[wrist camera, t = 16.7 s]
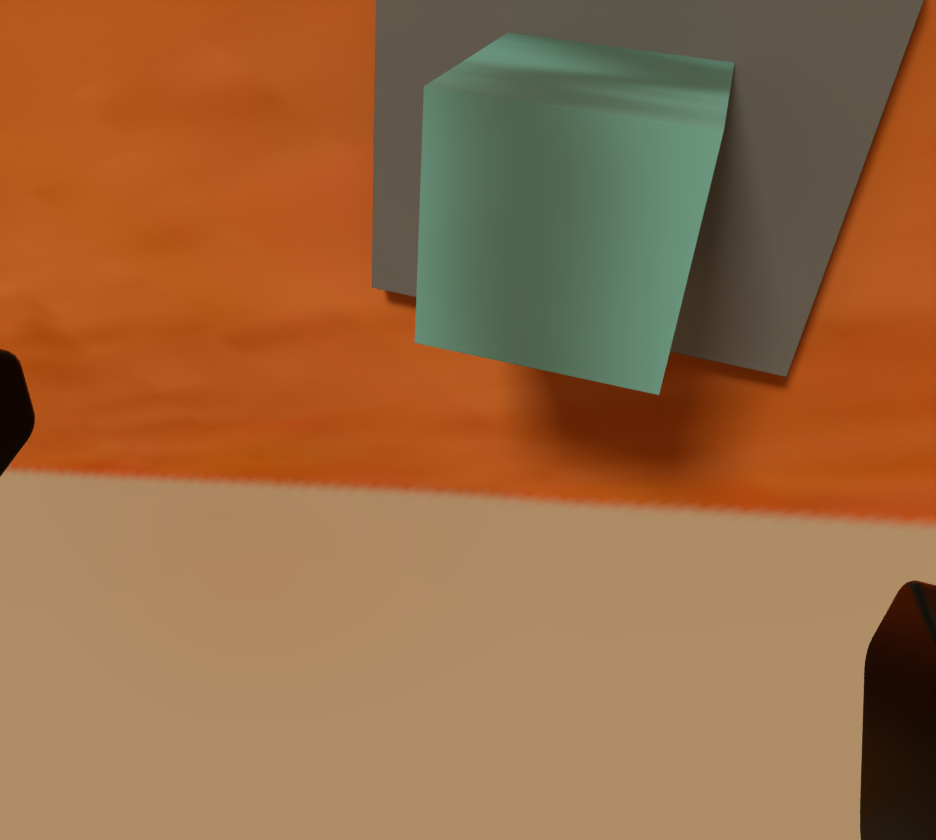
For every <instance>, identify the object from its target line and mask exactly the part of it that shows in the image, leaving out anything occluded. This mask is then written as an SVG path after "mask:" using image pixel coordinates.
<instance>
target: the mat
mask: <svg viewBox="0 0 936 840" xmlns="http://www.w3.org/2000/svg"><path fill="white" fill-rule="evenodd" d="M923 1H924V0H376V48H375V114H374V180H373V246H372V288H377V289H381V290H386V291H391V292H395V293H400V294H404V295H409V296H414V297H416V293H417V265H418V237H419V210H420V182H421V154H422V126H423V99H424V86H425V85H427V84H428V83H430V82H432V81H433V80H435V79H436V78H438V77H439V76H441V75H443V74H444V73H446V72H447V71H449V70H450V69H452V68H453V67H455V66H457V65H458V64H460V63H461V62H463V61H464V60H466V59H467V58H469V57H471V56H472V55H474V54H475V53H477V52H478V51H480V50H481V49H483V48H485V47H486V46H488V45H489V44H491V43H492V42H494V41H496V40H497V39H499V38H500V37H502V36H503V35H505V34H506V33H514V34H521V35H529V36H537V37H544V38H552V39H559V40H567V41H575V42H582V43H590V44H597V45H605V46H613V47H620V48H628V49H635V50H643V51H651V52H658V53H666V54H673V55H681V56H689V57H696V58H704V59H712V60H719V61H727V62H734V69H733V75H732V82H731V88H730V95H729V101H728V107H727V114H726V120H725V126H724V132H723V136H722V140H721V144H720V148H719V153H718V157H717V161H716V165H715V169H714V173H713V177H712V181H711V185H710V189H709V193H708V198H707V202H706V206H705V210H704V214H703V218H702V222H701V226H700V230H699V234H698V238H697V242H696V247H695V251H694V255H693V259H692V263H691V267H690V271H689V275H688V279H687V283H686V287H685V292H684V296H683V300H682V304H681V308H680V312H679V316H678V320H677V324H676V328H675V332H674V336H673V341H672V345H671V349H670V352H674V353H678V354H683V355H687V356H692V357H697V358H701V359H706V360H711V361H715V362H720V363H725V364H729V365H734V366H738V367H743V368H748V369H752V370H757V371H762V372H766V373H771V374H776V375H780V376H785V377H787V374H788V371H789V368H790V366H791V363H792V360H793V357H794V355H795V352H796V349H797V346H798V344H799V341H800V338H801V335H802V333H803V330H804V327H805V324H806V322H807V319H808V316H809V313H810V311H811V308H812V305H813V302H814V300H815V297H816V294H817V292H818V289H819V286H820V283H821V281H822V278H823V275H824V272H825V270H826V267H827V264H828V261H829V259H830V256H831V253H832V250H833V248H834V245H835V242H836V239H837V237H838V234H839V231H840V228H841V226H842V223H843V220H844V217H845V215H846V212H847V209H848V207H849V204H850V201H851V198H852V196H853V193H854V190H855V187H856V185H857V182H858V179H859V176H860V174H861V171H862V168H863V165H864V163H865V160H866V157H867V154H868V152H869V149H870V146H871V143H872V141H873V138H874V135H875V132H876V130H877V127H878V124H879V122H880V119H881V116H882V113H883V111H884V108H885V105H886V102H887V100H888V97H889V94H890V91H891V89H892V86H893V83H894V80H895V78H896V75H897V72H898V69H899V67H900V64H901V61H902V58H903V56H904V53H905V50H906V47H907V45H908V42H909V39H910V37H911V34H912V31H913V28H914V26H915V23H916V20H917V17H918V15H919V12H920V9H921V6H922V4H923Z"/></svg>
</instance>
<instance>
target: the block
mask: <svg viewBox="0 0 936 840" xmlns="http://www.w3.org/2000/svg"><path fill="white" fill-rule="evenodd" d="M733 69H734V62H727V61H719V60H712V59H704V58H696V57H689V56H681V55H673V54H666V53H658V52H651V51H643V50H635V49H628V48H620V47H613V46H605V45H597V44H590V43H582V42H575V41H567V40H559V39H552V38H544V37H537V36H529V35H521V34H514V33H506V34H505V35H503V36H502V37H500V38H499V39H497V40H496V41H494V42H492V43H491V44H489V45H488V46H486V47H485V48H483V49H481V50H480V51H478V52H477V53H475V54H474V55H472V56H471V57H469V58H467V59H466V60H464V61H463V62H461V63H460V64H458V65H457V66H455V67H453V68H452V69H450V70H449V71H447V72H446V73H444V74H443V75H441V76H439V77H438V78H436V79H435V80H433V81H432V82H430V83H428V84H427V85H425V86H424V99H423V126H422V154H421V182H420V210H419V237H418V265H417V293H416V321H415V343H418V344H423V345H428V346H432V347H437V348H442V349H446V350H451V351H456V352H460V353H465V354H470V355H474V356H479V357H484V358H488V359H493V360H498V361H502V362H507V363H512V364H516V365H521V366H526V367H530V368H535V369H540V370H544V371H549V372H554V373H558V374H563V375H568V376H572V377H577V378H582V379H586V380H591V381H596V382H600V383H605V384H610V385H614V386H619V387H624V388H628V389H633V390H638V391H642V392H647V393H652V394H656V395H659V394H660V390H661V386H662V381H663V377H664V373H665V369H666V365H667V361H668V357H669V353H670V349H671V345H672V341H673V336H674V332H675V328H676V324H677V320H678V316H679V312H680V308H681V304H682V300H683V296H684V292H685V287H686V283H687V279H688V275H689V271H690V267H691V263H692V259H693V255H694V251H695V247H696V242H697V238H698V234H699V230H700V226H701V222H702V218H703V214H704V210H705V206H706V202H707V198H708V193H709V189H710V185H711V181H712V177H713V173H714V169H715V165H716V161H717V157H718V153H719V148H720V144H721V140H722V136H723V132H724V126H725V120H726V114H727V107H728V101H729V95H730V88H731V82H732V75H733Z"/></svg>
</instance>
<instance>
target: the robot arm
mask: <svg viewBox="0 0 936 840" xmlns="http://www.w3.org/2000/svg"><path fill="white" fill-rule="evenodd" d="M34 423H35V414H34V410H33V406H32V403H31V399H30V395H29V392H28V388H27V384H26V381H25V377H24V373H23V370H22V366H21V364H20V361H19V360H18V359H17V357H16V356H15V355H14V354H12V353H11V352H9V351H6V350H2V349H0V476H1V475H2V474H3V472H4V471H5V470H6V468H7V467H8V466H9V464H10V463H11V462H12V460H13V459H14V457H15V456H16V455H17V453H18V452H19V451H20V449H21V448H22V447H23V445H24V444H25V443H26V441H27V440H28V439H29V437H30V435H31V433H32V431H33V428H34ZM864 671H865V672H864V702H863V734H862V766H861V799H860V833H861V840H936V585H932V584H927V583H924V582H920V581H911V582H907V583H906V584H905V585H903V586H902V587H901V589H900V590H899V591H898V593H897V595H896V596H895V598H894V600H893V602H892V604H891V605H890V607H889V609H888V611H887V613H886V615H885V616H884V618H883V620H882V622H881V623H880V625H879V627H878V629H877V631H876V632H875V634H874V636H873V638H872V640H871V642H870V644H869V647H868V650H867V654H866V660H865V670H864Z"/></svg>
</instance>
